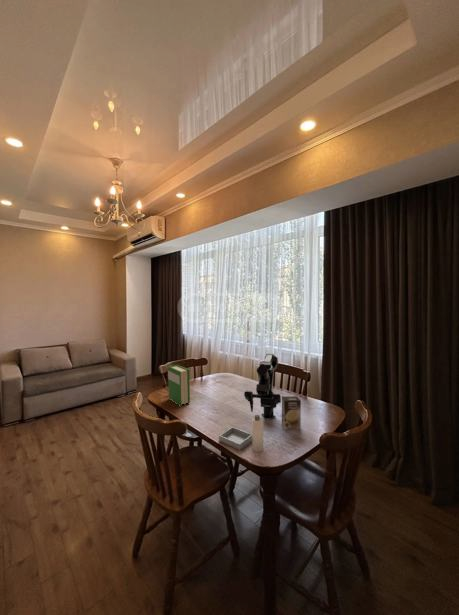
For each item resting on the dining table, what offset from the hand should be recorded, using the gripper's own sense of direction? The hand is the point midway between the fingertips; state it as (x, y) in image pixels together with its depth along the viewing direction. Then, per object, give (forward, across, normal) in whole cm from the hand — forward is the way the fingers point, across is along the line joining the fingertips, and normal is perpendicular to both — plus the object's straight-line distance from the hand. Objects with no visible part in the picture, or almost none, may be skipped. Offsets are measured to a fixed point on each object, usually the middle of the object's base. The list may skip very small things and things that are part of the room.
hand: (260, 413), depth 126 cm
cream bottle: (+15, 0, +4) cm, 16 cm away
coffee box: (-2, +14, +22) cm, 26 cm away
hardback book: (-13, -64, +33) cm, 73 cm away
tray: (+13, -12, +6) cm, 19 cm away
